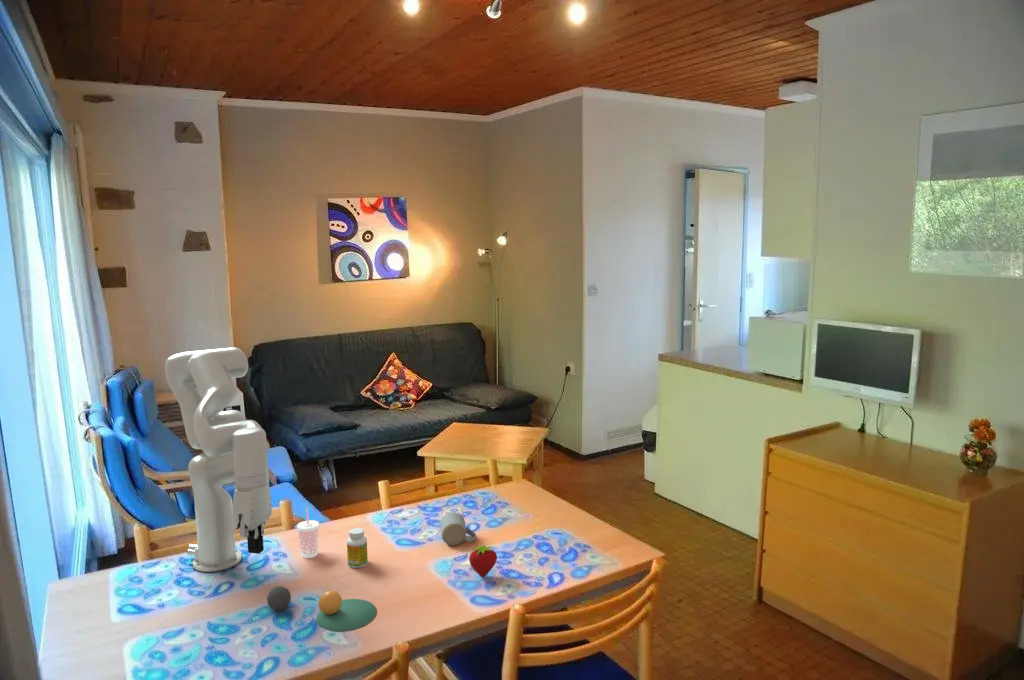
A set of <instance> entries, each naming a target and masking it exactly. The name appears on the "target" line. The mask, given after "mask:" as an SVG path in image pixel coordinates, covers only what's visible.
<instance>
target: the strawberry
mask: <svg viewBox="0 0 1024 680" xmlns="http://www.w3.org/2000/svg"><path fill="white" fill-rule="evenodd" d="M482 545H483V542H482V543H481V544H479V545H478V547H474V548H472V550H473V551H472V552H471V553H470V554H469V558H468V561H469V564H470V567H471V568H472V569H473V571H474V572H475V573H476V574H478V575H479V577H480V578H484V576H485V577H486V576H487V575H488V574H489V572H491V570H492V569H493V567H495V565H496V563H497V559H498V555H497V552H496V551H495V550H493V549H491V548H492V546H487V545H483V546H482Z"/></svg>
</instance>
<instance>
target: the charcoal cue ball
mask: <svg viewBox="0 0 1024 680" xmlns="http://www.w3.org/2000/svg"><path fill="white" fill-rule="evenodd" d="M291 600H292V595H291V591H290V590H289V589H288V587H285V586H282V585H279V586H275V587H273V588H272V589H270V591H269V592H268V594H267V596H266V604H267V605H268V607H269V608H270V609H271V610H274V611H282V610H284V609H285V608H287V607H288V605H289V604H290V603H291Z"/></svg>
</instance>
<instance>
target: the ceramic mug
mask: <svg viewBox="0 0 1024 680" xmlns="http://www.w3.org/2000/svg"><path fill="white" fill-rule="evenodd" d="M439 529H440V536H441V538H442V540H443V541H444V543H445V544H447V545H449V546H459V545H460V544H462V542H464V541H465V542H468V543H474V542H475V541H476V538H477V534H476V532H474V531H473V530H472V529H470V528H468V527H466V521H465V518H464V517H463V515H461V514H460V513H458V512H455V511H452V512H447V513H445V514H444V515H443V516H442V517H441V519H440V521H439ZM466 534H468V535H469V536H468V535H466ZM473 541H474V542H473Z"/></svg>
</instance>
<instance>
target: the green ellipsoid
mask: <svg viewBox="0 0 1024 680" xmlns="http://www.w3.org/2000/svg"><path fill="white" fill-rule="evenodd" d="M377 612H378V611H377V607H376V606H375V604H373V603H372V602H371V601H368V600H365V599H361V598H346V599H342V605H341V608H340V609H339V610H338V611H337V612H336V613H334V614H332V615H327V614H324V613H323V612H321V610H320V609H319V611H318V612H317V615H316V623H317V624H318V626H320V627H321V628H322V629H325V630H327V631H332V632H347V631H353V630H356V629H359V628H363V627H364V626H365V627H366V626H367V625H368V624H370V623H371V622H372V621H373V620H374V619H375V617H376V615H377Z"/></svg>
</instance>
